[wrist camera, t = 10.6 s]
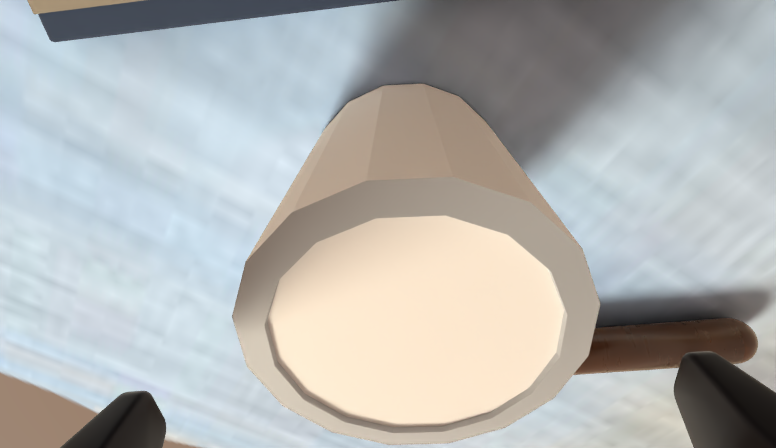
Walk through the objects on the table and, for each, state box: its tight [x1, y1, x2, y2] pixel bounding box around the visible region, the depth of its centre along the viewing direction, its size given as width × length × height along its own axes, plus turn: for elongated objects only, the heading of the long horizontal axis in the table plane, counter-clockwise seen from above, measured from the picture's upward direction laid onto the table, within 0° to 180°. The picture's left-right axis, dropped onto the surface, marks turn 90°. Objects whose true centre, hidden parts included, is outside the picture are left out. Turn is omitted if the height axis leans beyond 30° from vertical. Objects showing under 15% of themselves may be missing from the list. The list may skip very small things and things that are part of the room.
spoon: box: [573, 318, 758, 375], centre depth 18 cm, size 17×5×2 cm, turn 96°
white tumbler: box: [232, 84, 600, 445], centre depth 12 cm, size 7×7×7 cm
